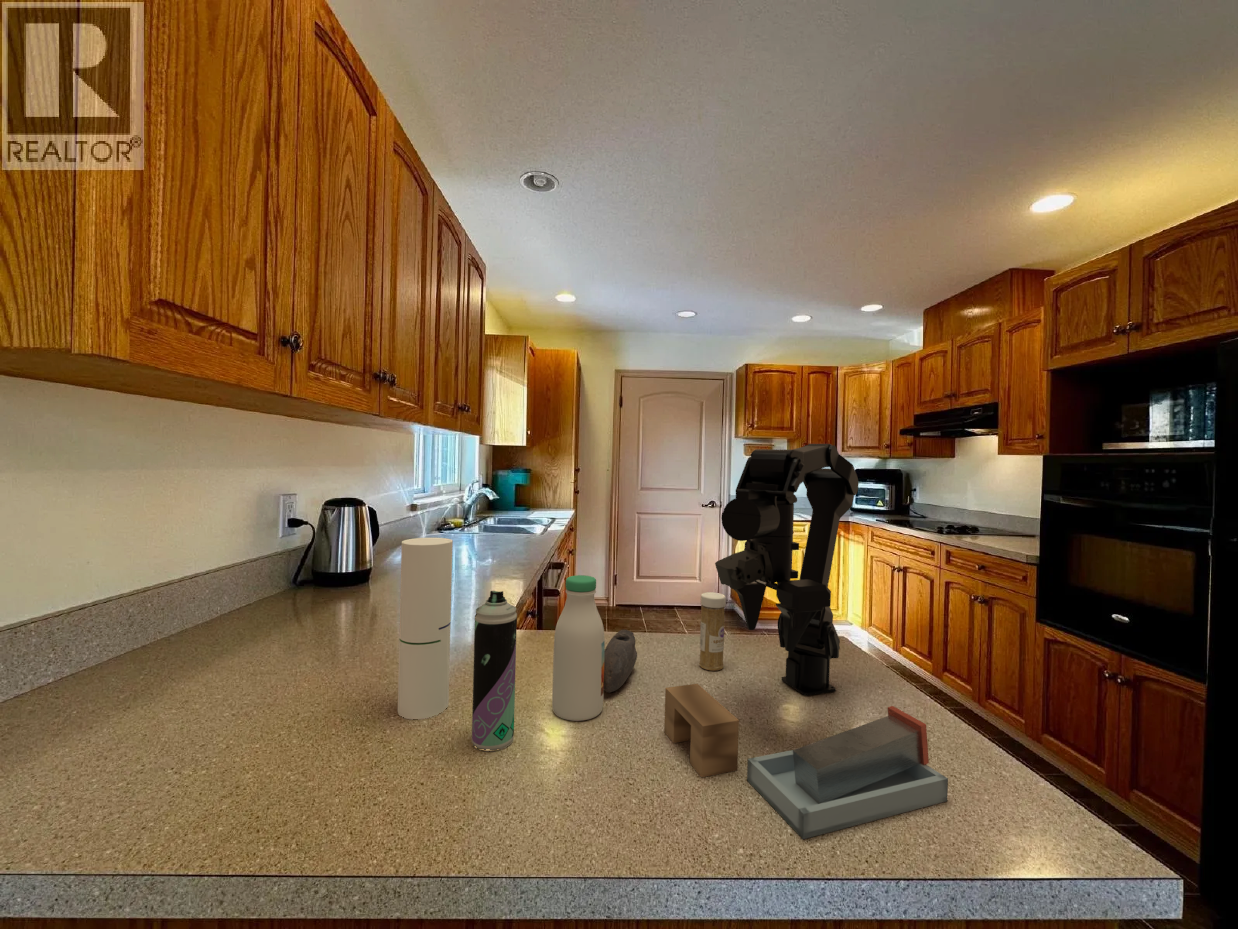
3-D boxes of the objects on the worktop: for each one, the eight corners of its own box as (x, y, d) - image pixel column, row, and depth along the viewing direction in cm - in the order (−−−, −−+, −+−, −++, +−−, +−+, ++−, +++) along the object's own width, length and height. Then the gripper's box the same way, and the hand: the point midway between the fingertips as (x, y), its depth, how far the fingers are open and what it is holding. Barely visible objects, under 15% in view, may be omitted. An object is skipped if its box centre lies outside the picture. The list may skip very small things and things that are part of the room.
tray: (876, 753, 68) (877, 733, 68) (947, 801, 59) (948, 778, 59) (747, 780, 61) (747, 758, 61) (803, 839, 52) (803, 814, 52)
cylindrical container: (458, 703, 79) (462, 540, 78) (422, 724, 72) (427, 546, 72) (423, 692, 82) (427, 536, 81) (386, 712, 75) (390, 542, 75)
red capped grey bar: (895, 742, 66) (892, 705, 65) (928, 763, 61) (926, 724, 61) (793, 781, 61) (790, 741, 60) (822, 807, 56) (818, 765, 56)
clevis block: (696, 726, 74) (697, 683, 74) (737, 770, 63) (738, 720, 63) (664, 732, 72) (665, 687, 72) (701, 777, 62) (702, 726, 62)
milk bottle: (596, 725, 73) (599, 585, 73) (544, 719, 75) (548, 581, 74) (608, 701, 81) (611, 574, 80) (561, 695, 82) (564, 570, 82)
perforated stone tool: (620, 703, 80) (621, 659, 80) (588, 698, 82) (589, 655, 82) (640, 666, 95) (641, 629, 95) (613, 663, 96) (614, 626, 96)
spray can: (476, 755, 65) (480, 598, 65) (467, 734, 70) (471, 588, 70) (518, 745, 67) (522, 594, 67) (507, 726, 72) (511, 584, 72)
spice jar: (720, 673, 92) (722, 599, 92) (696, 668, 94) (698, 595, 94) (725, 664, 97) (728, 593, 96) (702, 660, 98) (704, 590, 98)
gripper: (694, 526, 82) (691, 624, 82) (763, 546, 64) (760, 670, 64) (753, 525, 85) (751, 619, 86) (835, 544, 68) (831, 661, 68)
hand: (769, 639), depth 76 cm, fingers open, 9 cm apart
